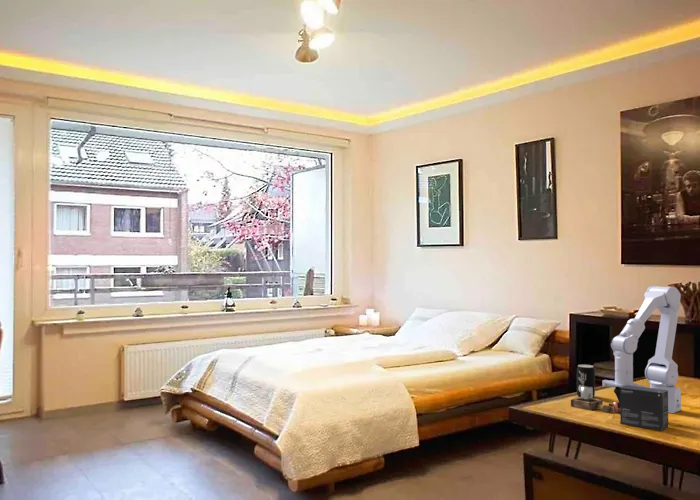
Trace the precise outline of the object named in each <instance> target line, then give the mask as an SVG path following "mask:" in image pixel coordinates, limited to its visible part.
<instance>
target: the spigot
mask: <svg viewBox="0 0 700 500" xmlns="http://www.w3.org/2000/svg"><path fill="white" fill-rule="evenodd" d="M593 398H594V397H593V388H592V387H588V386H582V387H581V401H586V402H593Z"/></svg>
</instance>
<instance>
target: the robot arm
mask: <svg viewBox="0 0 700 500" xmlns="http://www.w3.org/2000/svg"><path fill="white" fill-rule="evenodd" d="M681 297H682V294H681V293H680V291H679V289H678V288H677V287H675V286H656V285H650V286H649V287H647V289H646V291H645V292H644V300H643V302H642V305H641V306H640V307H639V309H638V311H637V313H636V315H635V317H634V318H630V319H629V320H627V322H626V324H625V326H624V327H623V328H622V330H621V332H620V333H619V334H618V335H616V336H614V337H613V338H612V340H611V343H610V347H611V349H612V351H613V353H612V354H613V356H614V380H608V379H604V380H602V382H601V383H602V387H610V388H614V389H613V392H614V394H615V396H616V398H617V400H618V401H617V402H619V404H620V387H623V386H625V385H631V386H639V387H647V386H646V385H643V384H638V383H634V365H633V364H634V353H635V352H636V351H637V349H638V342H639V338H640V337H641V335H642V333H643V332H644V331H645V329H646V326H645V323H646V321H647V320H648V319H649V318H650V317H651V315H652V314H653V312H654V311H656V309H657V310H658V311H659V312H660V313H661V314H660V319H659V328H658V333H657V340H656V345H655V346H656V347H655V353H654V355H653V356H652V357H651V358H649V359H648V361H647V365H646V367H645V369H644V376H645V378H646V379H647V380H648V383H649V388H655V389H663V390H668V414H669V413H670V414H675V413H677V412H680V411H682V392H681V388H680V387H679V386H675V384H676V383H677V382H678V380H679V371H678V367H679V366H678V364H677V363H676V362H675V361H674V359H673V351H674V345H675V338H676V333H677V326H678V325H677V324H678V317H679V312H680V311H679V310H680V304H681Z"/></svg>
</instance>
